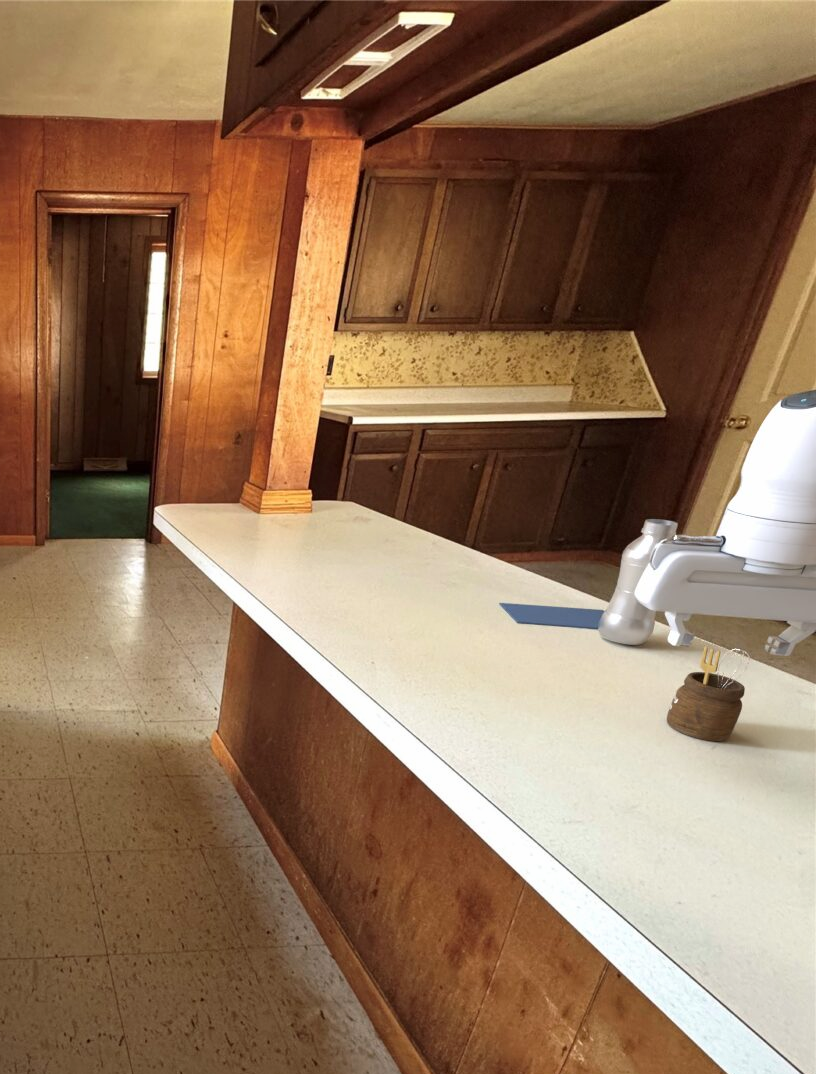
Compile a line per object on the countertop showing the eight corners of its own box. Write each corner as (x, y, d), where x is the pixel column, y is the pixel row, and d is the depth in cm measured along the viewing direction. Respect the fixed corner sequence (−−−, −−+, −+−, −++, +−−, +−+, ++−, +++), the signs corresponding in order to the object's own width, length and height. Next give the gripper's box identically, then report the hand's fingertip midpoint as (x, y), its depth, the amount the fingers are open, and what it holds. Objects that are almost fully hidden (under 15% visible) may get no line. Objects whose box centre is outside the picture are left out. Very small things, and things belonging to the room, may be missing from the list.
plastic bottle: (584, 632, 111) (621, 516, 104) (629, 633, 110) (670, 516, 103) (611, 649, 105) (652, 527, 98) (659, 650, 104) (703, 528, 97)
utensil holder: (741, 737, 82) (779, 650, 78) (706, 747, 80) (743, 659, 76) (685, 713, 87) (717, 631, 83) (651, 722, 86) (682, 639, 81)
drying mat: (602, 611, 119) (603, 609, 118) (628, 631, 111) (629, 630, 110) (499, 604, 123) (499, 602, 123) (517, 623, 115) (517, 621, 115)
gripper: (674, 540, 75) (635, 650, 80) (916, 553, 69) (857, 670, 74) (644, 526, 80) (609, 629, 85) (866, 536, 75) (814, 646, 80)
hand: (726, 648), depth 80 cm, fingers open, 8 cm apart
